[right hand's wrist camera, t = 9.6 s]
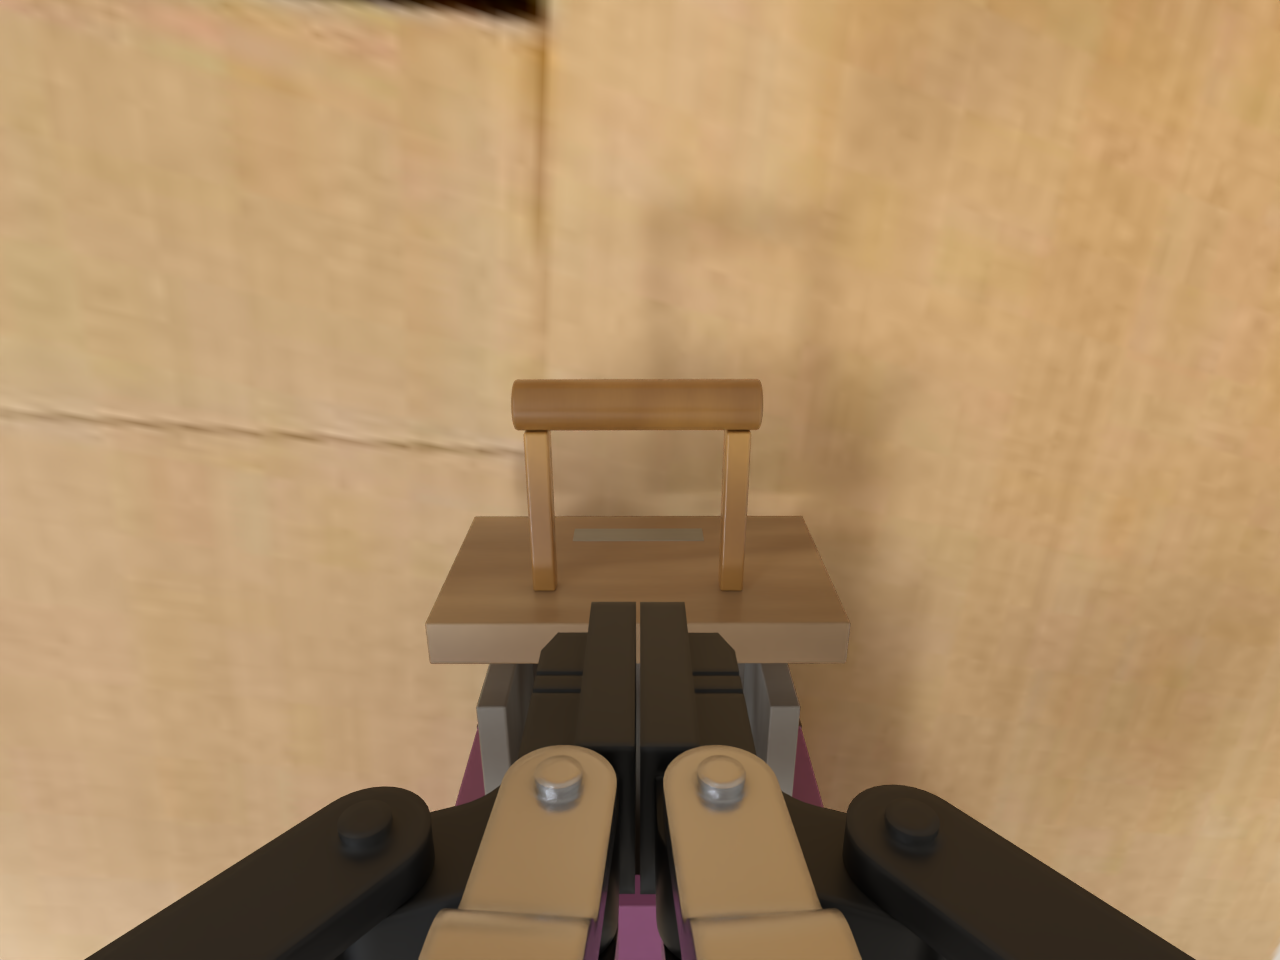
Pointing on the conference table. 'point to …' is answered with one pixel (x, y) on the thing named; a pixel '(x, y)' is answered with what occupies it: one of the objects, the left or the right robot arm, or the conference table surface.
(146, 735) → the conference table surface
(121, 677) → the conference table surface
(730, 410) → the drawer
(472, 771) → the cabinet
